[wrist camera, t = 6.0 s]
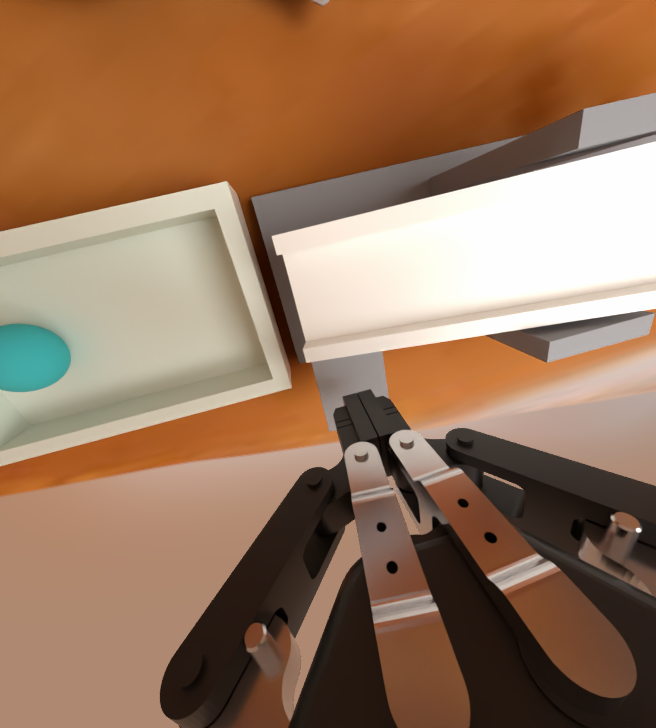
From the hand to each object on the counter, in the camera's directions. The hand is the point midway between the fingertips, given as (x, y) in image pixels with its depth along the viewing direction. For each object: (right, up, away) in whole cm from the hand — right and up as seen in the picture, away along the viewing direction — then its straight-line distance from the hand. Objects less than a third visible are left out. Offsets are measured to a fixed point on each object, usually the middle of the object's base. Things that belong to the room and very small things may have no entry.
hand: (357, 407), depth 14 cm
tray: (-15, +5, +4) cm, 17 cm away
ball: (-19, +3, +2) cm, 20 cm away
